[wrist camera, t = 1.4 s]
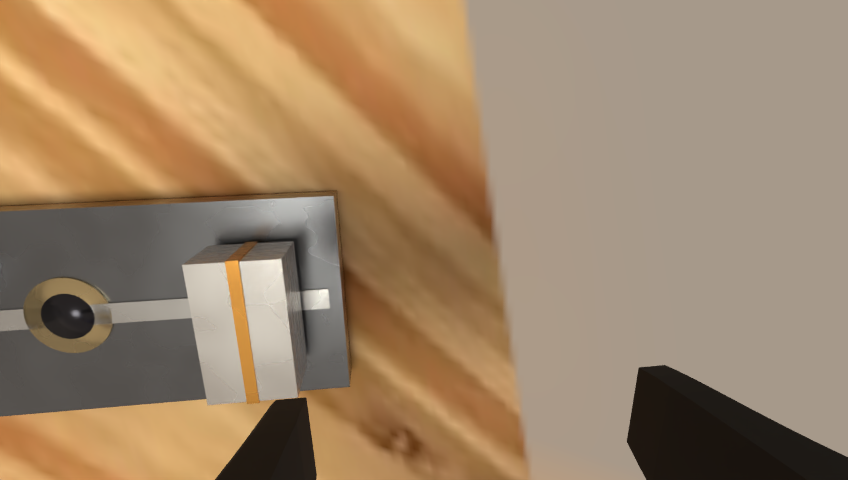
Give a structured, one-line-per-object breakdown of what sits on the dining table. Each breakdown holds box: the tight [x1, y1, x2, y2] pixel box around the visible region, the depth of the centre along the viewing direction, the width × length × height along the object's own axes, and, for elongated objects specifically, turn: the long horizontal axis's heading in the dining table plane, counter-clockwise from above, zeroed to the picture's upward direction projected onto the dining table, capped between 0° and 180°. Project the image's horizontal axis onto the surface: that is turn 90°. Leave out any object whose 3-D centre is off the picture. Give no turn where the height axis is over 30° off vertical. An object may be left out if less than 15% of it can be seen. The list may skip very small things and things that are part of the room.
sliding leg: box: [182, 241, 308, 405], centre depth 16 cm, size 5×3×2 cm, turn 2°
